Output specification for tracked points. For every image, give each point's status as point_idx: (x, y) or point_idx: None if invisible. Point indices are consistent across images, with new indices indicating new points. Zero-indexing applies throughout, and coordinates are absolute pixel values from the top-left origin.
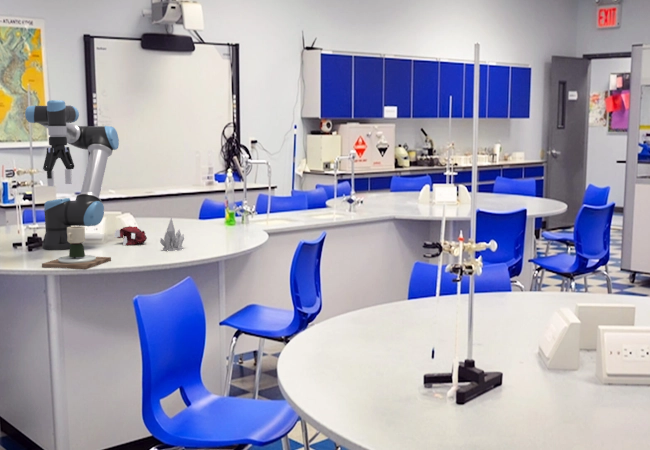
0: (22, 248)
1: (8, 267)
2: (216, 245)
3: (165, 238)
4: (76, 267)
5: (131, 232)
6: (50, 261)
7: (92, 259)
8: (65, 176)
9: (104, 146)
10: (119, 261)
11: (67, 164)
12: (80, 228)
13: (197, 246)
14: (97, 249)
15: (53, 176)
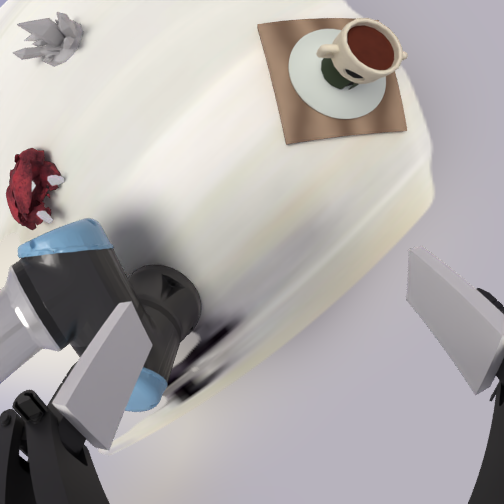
0: (215, 359)
1: (424, 205)
2: (18, 27)
3: (70, 23)
4: None
5: (31, 173)
6: (379, 129)
7: (331, 29)
8: (130, 389)
9: None
10: (256, 7)
11: (73, 477)
12: (378, 22)
13: None
14: (130, 192)
15: (469, 293)
